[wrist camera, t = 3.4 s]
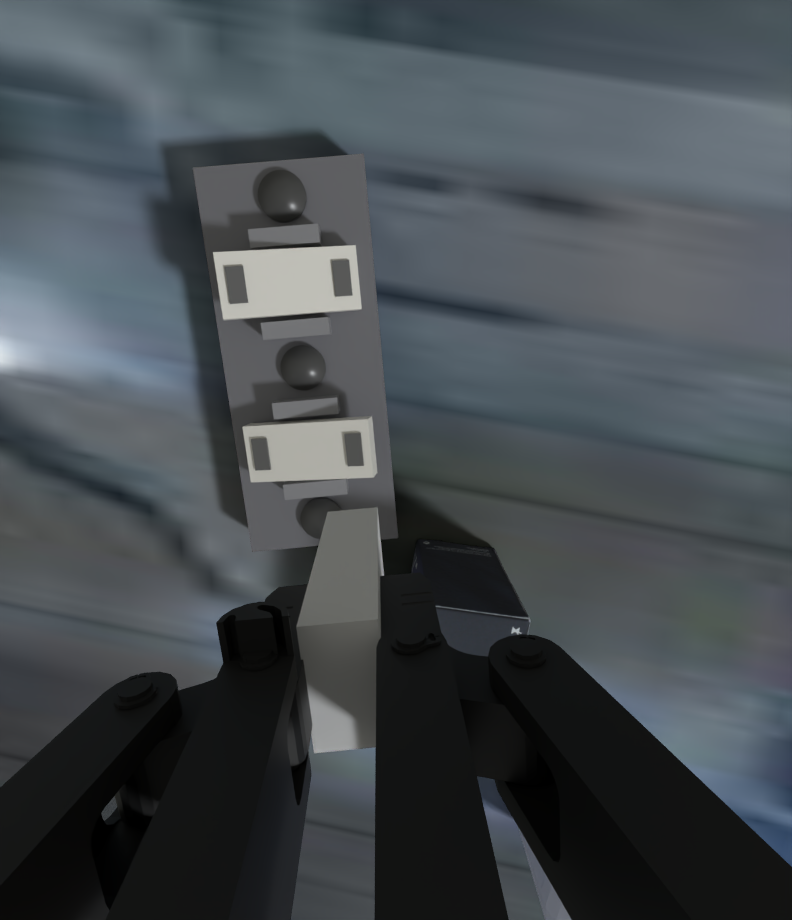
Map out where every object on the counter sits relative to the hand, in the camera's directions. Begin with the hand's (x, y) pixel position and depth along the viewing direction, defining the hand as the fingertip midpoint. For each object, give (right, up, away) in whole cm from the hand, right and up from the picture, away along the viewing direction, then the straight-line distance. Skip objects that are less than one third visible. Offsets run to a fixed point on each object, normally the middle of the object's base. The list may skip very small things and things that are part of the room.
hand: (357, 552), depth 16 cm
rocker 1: (-5, +13, +15) cm, 21 cm away
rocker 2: (-4, +3, +18) cm, 18 cm away
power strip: (-4, +5, +22) cm, 23 cm away
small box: (+5, -8, +26) cm, 27 cm away
